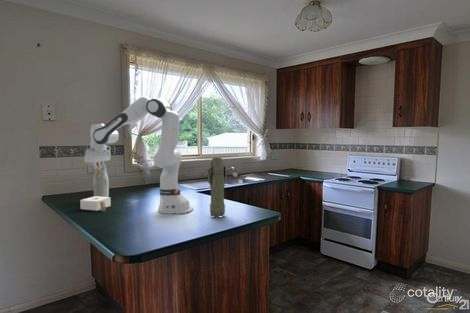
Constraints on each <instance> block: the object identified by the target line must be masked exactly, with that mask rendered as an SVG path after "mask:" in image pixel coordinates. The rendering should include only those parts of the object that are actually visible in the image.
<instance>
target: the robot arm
mask: <svg viewBox="0 0 470 313" xmlns="http://www.w3.org/2000/svg"><path fill="white" fill-rule="evenodd" d="M148 114H150V115H151V116H154V117H156V118H158V119H161V132H160V134H161V135H160V142H159V145H158V149H157V151H156V153H155V154H154V155H153V163H154V165H155V166H156V167H157V168H161V169H162V172H161V174H160V177H159V186H160V187H159V206H158V209H157V210H158V212H160V213H161V214H172V213H176V214H177V215H178V214H181V213H182V214H183V213H185V214H188V213H190V211H191V212H192V211H193V210H194V207H193V206H191V205H190V204H191V203H190V201H189V199H188V198H186V197H185V196H184V195H183V194H181V192H182V188H179V187H178V184H179V182H178V180H179V179H178V178H179V170H180V169H179V168H180V165H181V162H182V161H183V155H182V153H181V152H180V151H179V150H177V149H176V148H177V145H178V144H179V140H180V115H179V113H177V112H176V111H174V110H173V108H172V105H171V103H170V102H168V101H167V100H164V99H162V98H156V97H153V98H150V97H148V96H146V95H145V96H144V95H142V96H140V97H139V98H138V99H136V100H134V101H133V102H132V103H131V104H130V105H129V106H127V108H126V109H124V110H123V111H122V112H120V113H119V114H118V115H116V116H115V117H114V118H113V119H111V120H110V121H109V122H107V123H106V124H104V123H100V122H99V123H93V124H92V125H91V126H90V133H89V134H90V147H89V148H87V149H86V150H85V152H84V162H85V163H87V164H88V163H89V164H90V163H92V166H93V169H94V170H95V169H98V166H97V165H96V164H97V162H101V168H102V165H103V164H105V162H107V161H108V162H109V161H110V160H111V158H112V155H111V154H112V153H111V147H110V146H108V145H107V144H114V143H117V142H118V141H119V140H120V133H119V132H118V130H119V129H120V128H121V127H123V126H126V125H131V124H136V123H138V122H140V121H141V120H143V119H144V117H146V116H147V115H148ZM187 212H188V213H187ZM182 214H181V215H182Z"/></svg>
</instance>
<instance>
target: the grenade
mask: <svg viewBox="0 0 470 313" xmlns="http://www.w3.org/2000/svg"><path fill="white" fill-rule="evenodd" d="M207 183H208V185H209V188H210V204H209V212H210V215H211V216H214V217H219V216H223V215H225V216H226V204H225V184H226V183H227V167H226V165H224V159H223V158H222V157H213V158H211V161H210V166H208V167H207Z"/></svg>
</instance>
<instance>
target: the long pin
mask: <svg viewBox="0 0 470 313" xmlns="http://www.w3.org/2000/svg"><path fill="white" fill-rule="evenodd" d="M96 165H97V166H98V169H96V180H101V162H97V164H96Z"/></svg>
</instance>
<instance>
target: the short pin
mask: <svg viewBox="0 0 470 313" xmlns="http://www.w3.org/2000/svg"><path fill="white" fill-rule="evenodd" d="M100 207H101V209H100V212H106V210H107V209H106V208H107V207H106V204H105V201H101V202H100Z"/></svg>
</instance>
